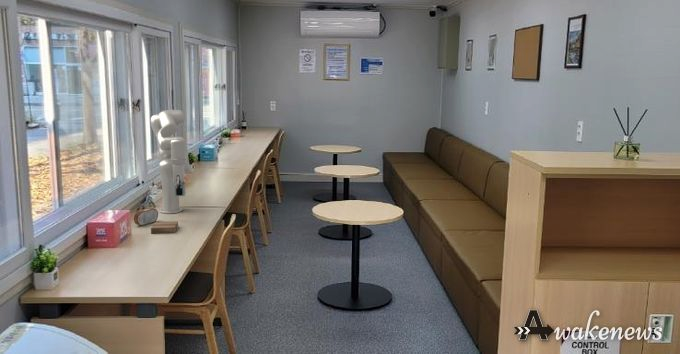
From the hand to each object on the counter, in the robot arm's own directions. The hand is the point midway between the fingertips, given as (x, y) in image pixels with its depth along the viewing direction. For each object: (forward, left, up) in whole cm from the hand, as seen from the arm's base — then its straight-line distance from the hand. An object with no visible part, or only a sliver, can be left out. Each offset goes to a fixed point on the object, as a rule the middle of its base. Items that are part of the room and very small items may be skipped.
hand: (180, 193), depth 315 cm
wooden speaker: (-1, -19, -17) cm, 25 cm away
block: (0, 0, -1) cm, 1 cm away
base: (+13, -7, -17) cm, 23 cm away
